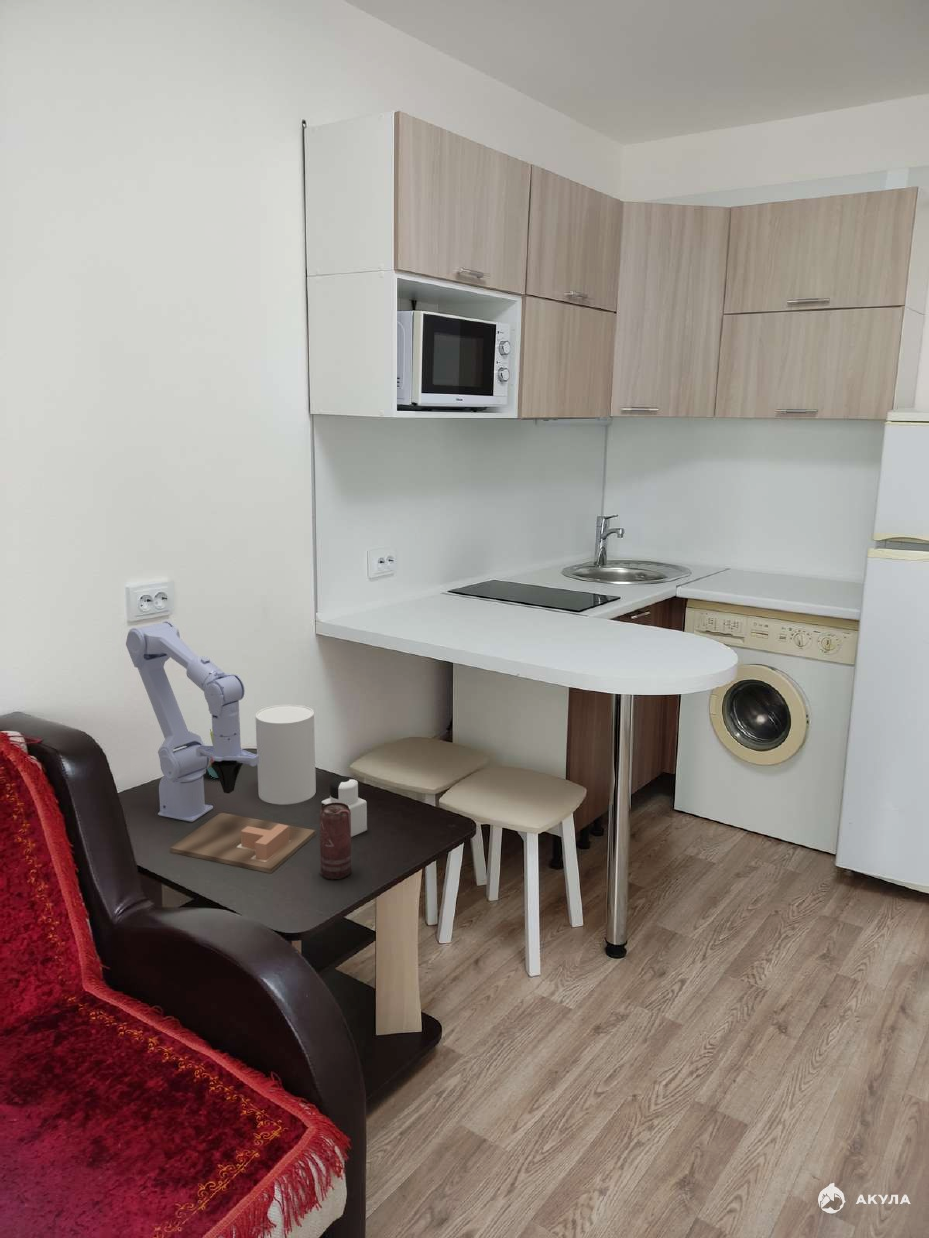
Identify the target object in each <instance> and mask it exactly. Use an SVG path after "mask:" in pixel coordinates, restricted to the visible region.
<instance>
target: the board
mask: <svg viewBox="0 0 929 1238" xmlns="http://www.w3.org/2000/svg"><path fill="white" fill-rule="evenodd" d="M278 824H280V823H278V822H274V821H273V822H272V821H269V820H268V821H267V820H262V819H257V818H252V817H246V816H242V815H237V814H233V813H227V812H219V813H218V814H216V815H215V816H214V817H213V818H211V819H209V820H208V821H207V822H205V823H204V824H203V825H201V826H199V827H198V828H197V829H195V830H193V831H192V832H191V833H189V834H188V835H187V836H185V837H184V838H182V839H181V840H179V841H178V842H176V843H175V844H173V845H172V846H170V847H169V849H170V853H173V854H177V855H182V856H187V857H191V858H197V859H201V860H206V861H210V862H214V863H215V862H216V863H221V864H224V865H225V864H226V865H229V866H235V867H239V868H245V869H249V870H252V871H258V872H263V873H268V874H272V873H273V872H274V871H276V870H277V869H278V868H279V867H280V866H281V865H283V863H285V862H286V861H287V860H288V859H289V858H290V857H292V856H293V855H294V854H295V853H296V852H297V851H299V850H300V849H302V847H303V846H304V845H306V843H309V841H310V840H311V839H313V837H315V836H316V829H309V828H305V827H301V826H295V825H289V824H286V825H287V826H289V842H288V843H287V844H285V845H284V846H283V847H282V848H281V849H279V850H278V851H277V852H276V853H275V854H274V855H272V856H271V857H270V858H269V859H268V860H262V859H257V858H256V853H255V849H251V848H246V847H241V831H242V830H243V829H244V828H246V827H247V826H250V827H255V828H260V829H265V830H271V829H273V828H274V827H275V826H277V825H278ZM281 824H282V825H285V824H283V823H281Z"/></svg>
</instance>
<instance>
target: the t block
mask: <svg viewBox="0 0 929 1238" xmlns="http://www.w3.org/2000/svg"><path fill="white" fill-rule="evenodd" d="M282 824H283V823H279V824H278V825H277V826H275V827H274V828H273V829H271V830H265V829H260V828H255V827H250V826H247V827H246V828H244V829H243V830H242V831H241V847H246V848H251V849H255V853H256V858H257V859H262V860H268V859H269V858H270V857H271V856H272V855H274V854H275V853H276V852H277V851H278V850H279V849H281V848H282V847H283V846H284V845H285V844H287V843H288V842H289V826H287V825H288V824H284V825H282Z"/></svg>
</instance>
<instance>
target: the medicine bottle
mask: <svg viewBox="0 0 929 1238" xmlns="http://www.w3.org/2000/svg"><path fill="white" fill-rule="evenodd" d="M329 803H343V804H346V805H348V807H349V809H350V811H351V838H352V837H354V836H358V835H359V834H362V833H364V832H366V831H368V817H367V816H368V814H367V813H368V810H367V809H368V808H367V806H368V805H367V804H368V803H367V801H366V800H365V799H362V798H360V797H359V782H358V780H357V779H356V778H354V777H351V776H347V775H346V776H345V775H344V776H336V777H335V778H333V779H331V780H330V782H329V798H325V799H324V800H322V801H321V807H322V806H324V805H326V804H329Z"/></svg>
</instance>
